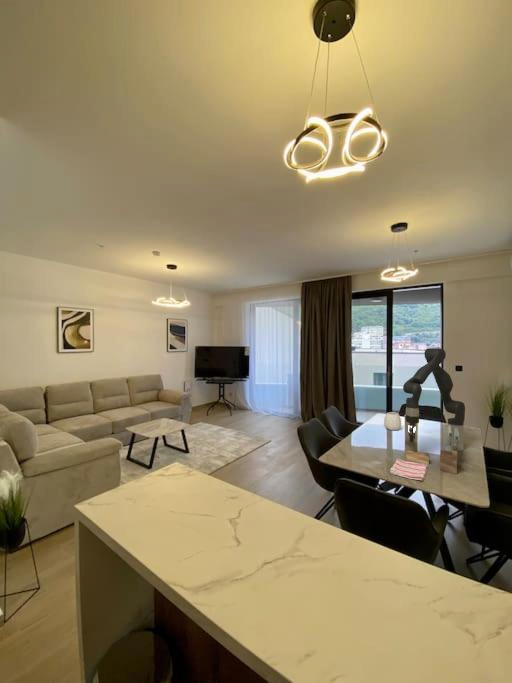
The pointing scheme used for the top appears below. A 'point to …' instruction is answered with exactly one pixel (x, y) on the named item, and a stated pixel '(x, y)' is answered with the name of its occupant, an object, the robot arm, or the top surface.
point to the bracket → (456, 439)
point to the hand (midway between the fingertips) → (412, 440)
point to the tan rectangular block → (418, 457)
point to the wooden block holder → (449, 460)
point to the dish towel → (409, 470)
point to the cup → (392, 421)
